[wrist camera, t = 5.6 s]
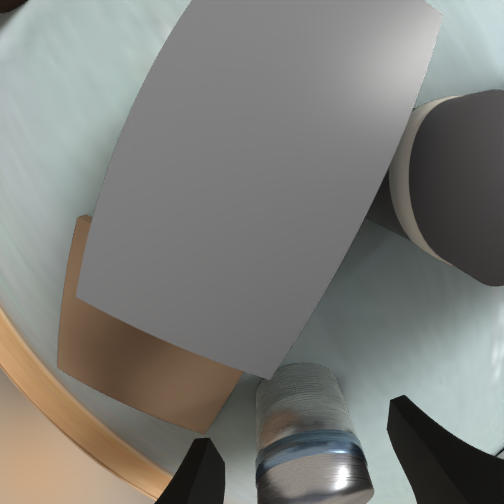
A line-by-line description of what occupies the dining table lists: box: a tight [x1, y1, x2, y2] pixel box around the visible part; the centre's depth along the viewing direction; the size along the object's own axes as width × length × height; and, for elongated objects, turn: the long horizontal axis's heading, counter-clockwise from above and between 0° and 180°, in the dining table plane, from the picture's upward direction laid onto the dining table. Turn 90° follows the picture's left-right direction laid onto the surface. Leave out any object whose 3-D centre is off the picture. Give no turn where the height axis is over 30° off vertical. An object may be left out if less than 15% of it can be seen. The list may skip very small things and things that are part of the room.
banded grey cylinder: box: [365, 90, 504, 286], centre depth 7 cm, size 4×4×6 cm
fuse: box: [255, 363, 374, 504], centre depth 9 cm, size 4×4×6 cm
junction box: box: [76, 0, 443, 380], centre depth 6 cm, size 4×7×6 cm, turn 155°
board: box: [57, 214, 244, 434], centre depth 11 cm, size 8×8×1 cm
